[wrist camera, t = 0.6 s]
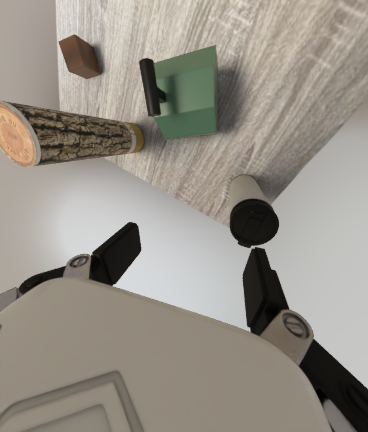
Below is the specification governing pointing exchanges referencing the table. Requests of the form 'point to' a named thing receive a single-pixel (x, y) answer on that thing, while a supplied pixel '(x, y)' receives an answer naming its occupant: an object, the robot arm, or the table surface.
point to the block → (79, 57)
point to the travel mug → (250, 213)
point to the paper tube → (62, 135)
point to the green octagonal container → (183, 93)
